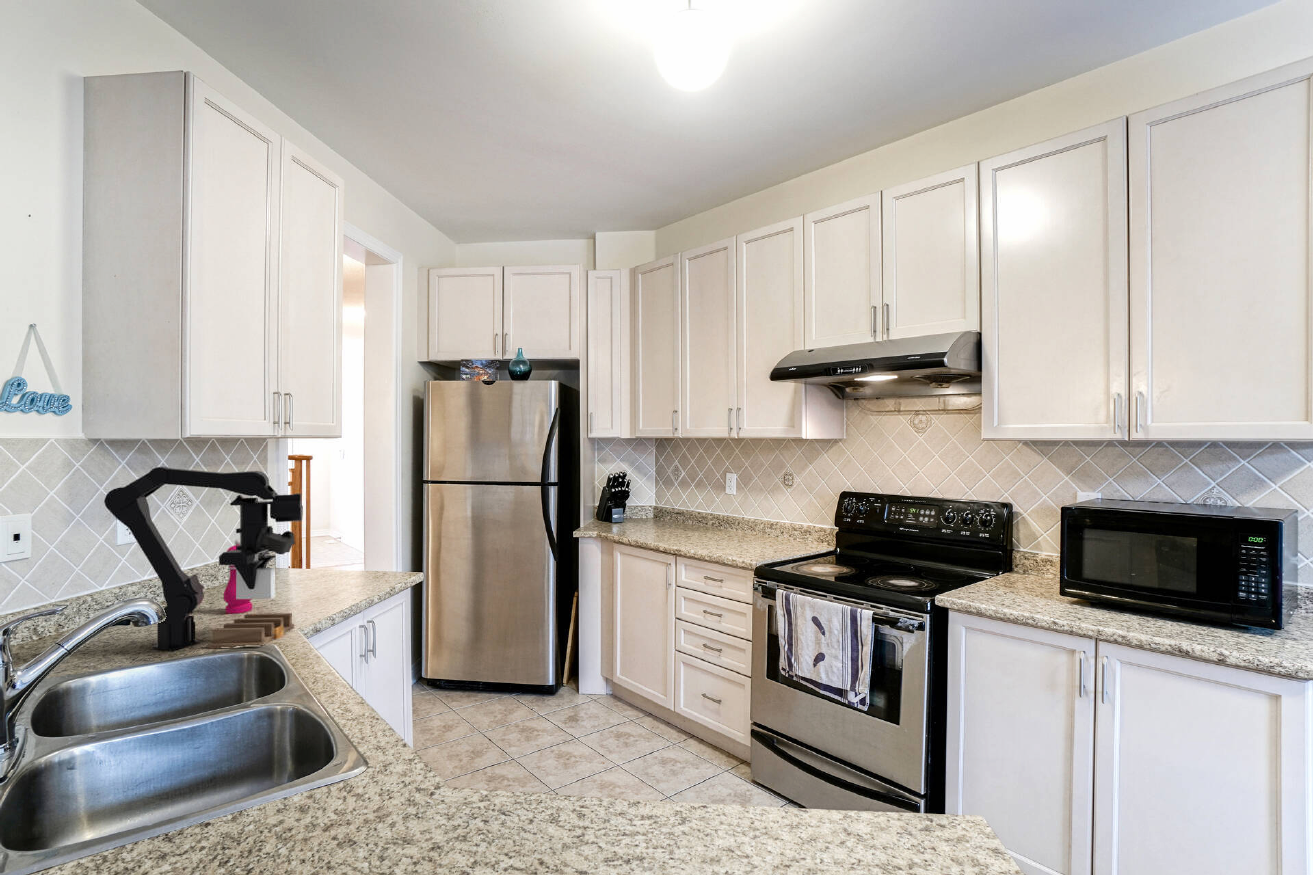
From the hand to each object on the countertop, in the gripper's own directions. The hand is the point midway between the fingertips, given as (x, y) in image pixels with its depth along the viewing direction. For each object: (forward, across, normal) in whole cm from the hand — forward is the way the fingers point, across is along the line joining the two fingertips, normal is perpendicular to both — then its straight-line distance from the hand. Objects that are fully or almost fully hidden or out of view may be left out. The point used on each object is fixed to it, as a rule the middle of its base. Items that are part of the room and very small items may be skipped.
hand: (254, 587), depth 158 cm
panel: (+2, 0, 0) cm, 2 cm away
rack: (+12, 0, 0) cm, 12 cm away
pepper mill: (+12, +26, +18) cm, 34 cm away
